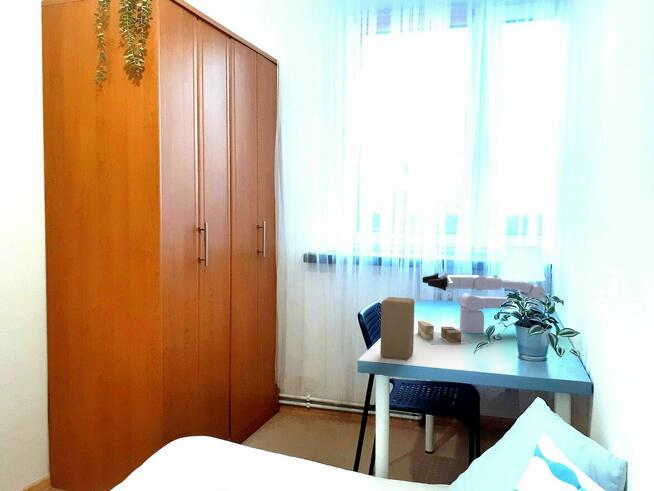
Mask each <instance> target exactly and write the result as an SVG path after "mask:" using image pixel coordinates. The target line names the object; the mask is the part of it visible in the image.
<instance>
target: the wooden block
mask: <svg viewBox="0 0 654 491" xmlns="http://www.w3.org/2000/svg"><path fill="white" fill-rule="evenodd" d="M380 311H381V312H380V314H381V315H380V357H381V358H383V359H385V358H386V359H393V360H394V359H395V360H404V361H407V360H409V359H410V358H411V356H412V355H413V353H414V340H415V339H414V335H415V334H414V333H415V299H414V298H412V297H411V298H409V297H396V296H395V297H394V296H388V297H387V298H385V299H383V300H382V301H381V307H380Z"/></svg>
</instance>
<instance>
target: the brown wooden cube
mask: <svg viewBox="0 0 654 491" xmlns="http://www.w3.org/2000/svg"><path fill="white" fill-rule="evenodd" d="M440 329H441V330H440V332H441V337H442V338H444V339H446V330H457V329H456V328H455V327H453V326H441V327H440Z"/></svg>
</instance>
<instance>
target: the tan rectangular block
mask: <svg viewBox="0 0 654 491" xmlns="http://www.w3.org/2000/svg"><path fill="white" fill-rule="evenodd" d="M434 328H435V325H434V324H432V323H430V322H429V321H427V320H418V321H417V334H418V333H419V334H420V335H421V338H423V337H424V338H425V339H426V338H434V332H435V329H434ZM419 334H418V335H419ZM420 335H419V336H420ZM424 338H423V339H424ZM425 339H424V340H425Z"/></svg>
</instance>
